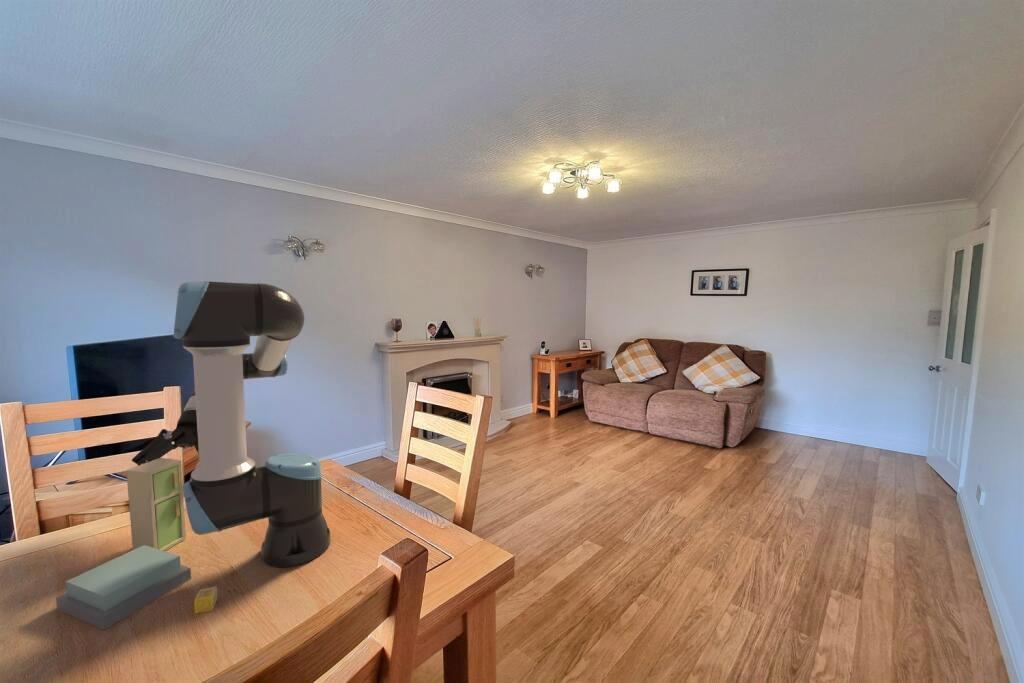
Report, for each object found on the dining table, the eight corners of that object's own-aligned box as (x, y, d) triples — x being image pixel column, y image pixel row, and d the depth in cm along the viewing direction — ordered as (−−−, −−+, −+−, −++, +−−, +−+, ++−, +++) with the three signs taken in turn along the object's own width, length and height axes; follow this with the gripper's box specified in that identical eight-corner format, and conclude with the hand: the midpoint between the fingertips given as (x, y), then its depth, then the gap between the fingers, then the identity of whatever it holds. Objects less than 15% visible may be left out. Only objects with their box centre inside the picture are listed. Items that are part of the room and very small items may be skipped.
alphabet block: (218, 599, 83) (217, 585, 83) (213, 610, 80) (212, 595, 80) (199, 603, 82) (199, 589, 82) (194, 614, 79) (193, 599, 79)
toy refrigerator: (155, 558, 96) (149, 472, 94) (131, 554, 98) (125, 469, 96) (189, 539, 104) (184, 459, 102) (166, 535, 105) (161, 457, 104)
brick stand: (191, 578, 89) (189, 554, 89) (104, 629, 75) (101, 601, 75) (146, 563, 94) (144, 541, 94) (57, 609, 80) (54, 582, 79)
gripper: (250, 420, 120) (222, 493, 106) (159, 422, 117) (118, 496, 104) (239, 407, 114) (207, 482, 100) (142, 408, 111) (97, 486, 98)
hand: (162, 490), depth 102 cm, fingers open, 13 cm apart
